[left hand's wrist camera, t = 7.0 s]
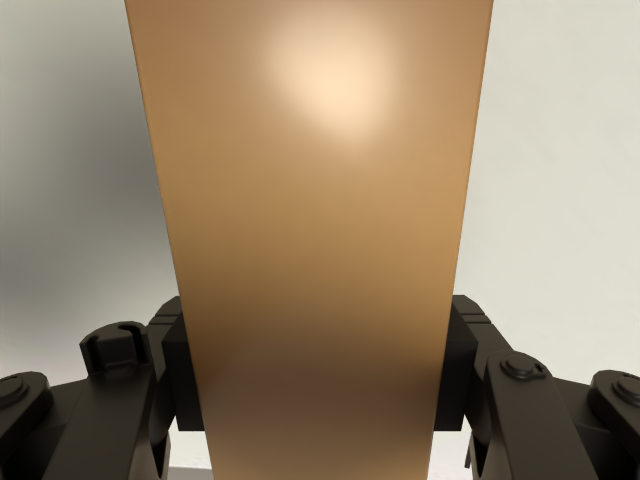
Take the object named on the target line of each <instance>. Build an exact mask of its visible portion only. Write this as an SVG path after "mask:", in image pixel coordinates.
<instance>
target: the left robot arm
mask: <svg viewBox="0 0 640 480" xmlns="http://www.w3.org/2000/svg"><path fill="white" fill-rule="evenodd" d="M79 345H80V349H81V352H82V355H83V359H84V362H85V365H86V368H87V372H88V377H87V379H83V380H80V381H75V382H70V383H66V384H61V385H57V386H52V387H50V385H49V382H48V380H47V377H46V376H45V375H43V374H42V373H40V372H32V371H30V372H23V373H17V374H14V375H11V376H7V377H4V378H2V379H0V480H167V475H168V466H169V457H170V449H171V443H170V436H169V432H168V430H169V428H170V426H171V423H172V421H173V419H174V417H175V415H176V420H177V425H178V430H179V431H205V429H204V423H203V418H202V413H201V407H200V402H199V396H198V391H197V386H196V380H195V375H194V370H193V364H192V359H191V354H190V348H189V343H188V338H187V332H186V327H185V322H184V316H183V311H182V306H181V300H180V296H175V297H174V298H172V299H171V300H169V301H168V302H166V303H165V304H163V305H162V306H161V308H160V309H159V310H158V312H157V313H156V314H155V317H153V318H152V319H151V321H150V322H149V325H147V326H146V327H145V326H144V325H143V324H141V323H138V322H134V321H125V322H117V323H113V324H109V325H106V326H104V327H101V328H99V329H97V330H95V331H93V332H92V333H90V334H89V335H87V336H86V337H85V338H84V339H83V340H82V341H81V342H80V344H79ZM464 414H465V416H466V418H467V420H468V422H469V424H470V427H471V429H472V432H471V436H470V441H469V446H468V450H467V455H466V460H465V468H470V463H471V465H472V474H473V480H640V377H638V376H635V375H632V374H629V373H625V372H621V371H614V370H603V371H599V372H597V373H596V374H595V375H594V376H593V379H592V381H591V384H590V385H586V384H581V383H577V382H572V381H567V380H563V379H559V378H555V377H553V376H552V374H551V373H550V371H549V370H548V369H547V367H546V366H545V365H543V364H542V363H541V362H539V361H538V360H537V359H535V358H533V357H531V356H529V355H527V354H525V353H521V352H517V351H514V350H513V349H512V348H511V346H510V345H509V344H508V342H507V341H506V340H505V339H504V337H503V336H502V335H501V333H500V332H499V331H498V330H497V328H496V327H495V326H494V325H493V324H491V321H490V319H489V318H488V317H487V316H486V315H485V313H484V312H483V311H482V309H481V308H480V307H479V305H478V304H477V303H475V302H474V301H472V300H471V299H469V298H468V297H466V296H465V295H453V296H452V303H451V310H450V317H449V324H448V331H447V339H446V346H445V353H444V360H443V367H442V375H441V382H440V389H439V396H438V403H437V411H436V418H435V425H434V431H461V429H462V424H463V419H464Z"/></svg>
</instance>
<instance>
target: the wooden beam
mask: <svg viewBox="0 0 640 480" xmlns="http://www.w3.org/2000/svg"><path fill="white" fill-rule="evenodd" d="M124 1H125V7H126V12H127V17H128V23H129V28H130V33H131V39H132V44H133V49H134V55H135V60H136V65H137V71H138V76H139V81H140V87H141V92H142V97H143V103H144V108H145V113H146V119H147V124H148V129H149V135H150V140H151V145H152V151H153V156H154V161H155V167H156V172H157V178H158V183H159V188H160V194H161V199H162V204H163V210H164V215H165V220H166V226H167V231H168V236H169V242H170V247H171V252H172V258H173V263H174V268H175V274H176V279H177V284H178V290H179V295H180V300H181V306H182V311H183V316H184V322H185V327H186V332H187V338H188V343H189V348H190V354H191V359H192V364H193V370H194V375H195V380H196V386H197V391H198V396H199V402H200V407H201V413H202V418H203V423H204V429H205V434H206V439H207V445H208V450H209V455H210V461H211V466H212V471H213V476H214V480H427V475H428V468H429V461H430V454H431V447H432V439H433V432H434V425H435V418H436V411H437V403H438V396H439V389H440V382H441V375H442V367H443V360H444V353H445V346H446V339H447V331H448V324H449V317H450V310H451V303H452V296H453V288H454V281H455V274H456V267H457V260H458V252H459V245H460V238H461V231H462V224H463V216H464V209H465V202H466V195H467V188H468V180H469V173H470V166H471V159H472V152H473V145H474V137H475V130H476V123H477V116H478V109H479V101H480V94H481V87H482V80H483V73H484V65H485V58H486V51H487V44H488V37H489V30H490V22H491V15H492V8H493V1H494V0H124Z"/></svg>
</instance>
